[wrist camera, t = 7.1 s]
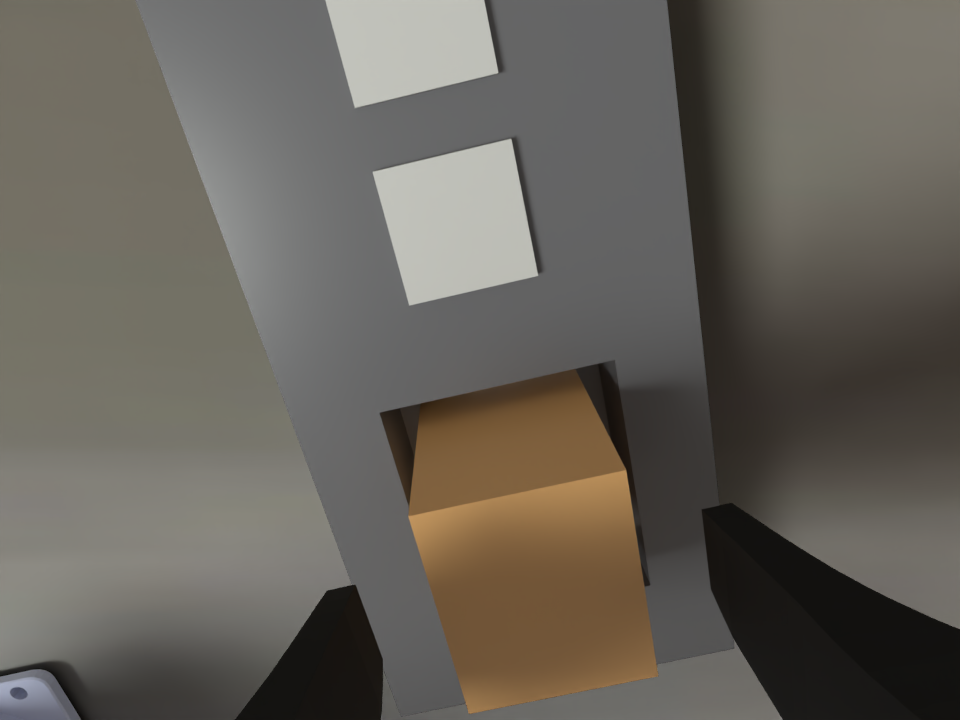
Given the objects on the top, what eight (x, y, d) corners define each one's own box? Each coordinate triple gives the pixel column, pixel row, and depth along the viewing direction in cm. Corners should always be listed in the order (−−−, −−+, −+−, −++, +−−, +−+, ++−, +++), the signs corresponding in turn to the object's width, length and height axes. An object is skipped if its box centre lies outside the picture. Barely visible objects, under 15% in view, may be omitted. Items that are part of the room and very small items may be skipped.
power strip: (407, 635, 21) (400, 723, 18) (166, -67, 14) (86, -120, 11) (695, 575, 20) (737, 654, 17) (599, -179, 13) (642, -267, 10)
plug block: (463, 537, 19) (468, 713, 13) (422, 386, 17) (408, 516, 11) (595, 509, 19) (658, 676, 13) (567, 354, 17) (626, 470, 11)
